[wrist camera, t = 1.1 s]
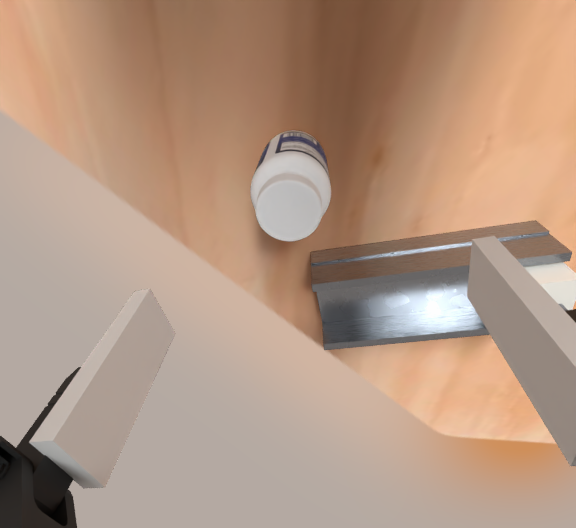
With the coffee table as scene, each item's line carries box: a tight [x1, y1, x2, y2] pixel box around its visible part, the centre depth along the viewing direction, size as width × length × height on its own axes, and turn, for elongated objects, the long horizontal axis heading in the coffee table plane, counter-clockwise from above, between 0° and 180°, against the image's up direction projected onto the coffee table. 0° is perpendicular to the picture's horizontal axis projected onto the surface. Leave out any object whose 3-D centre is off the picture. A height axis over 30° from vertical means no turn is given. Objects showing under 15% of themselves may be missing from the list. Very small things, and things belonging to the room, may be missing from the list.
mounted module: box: [524, 262, 576, 311], centre depth 28 cm, size 6×3×6 cm, turn 11°
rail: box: [311, 221, 572, 350], centre depth 31 cm, size 8×20×5 cm, turn 101°
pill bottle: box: [251, 130, 331, 241], centre depth 24 cm, size 5×5×10 cm
